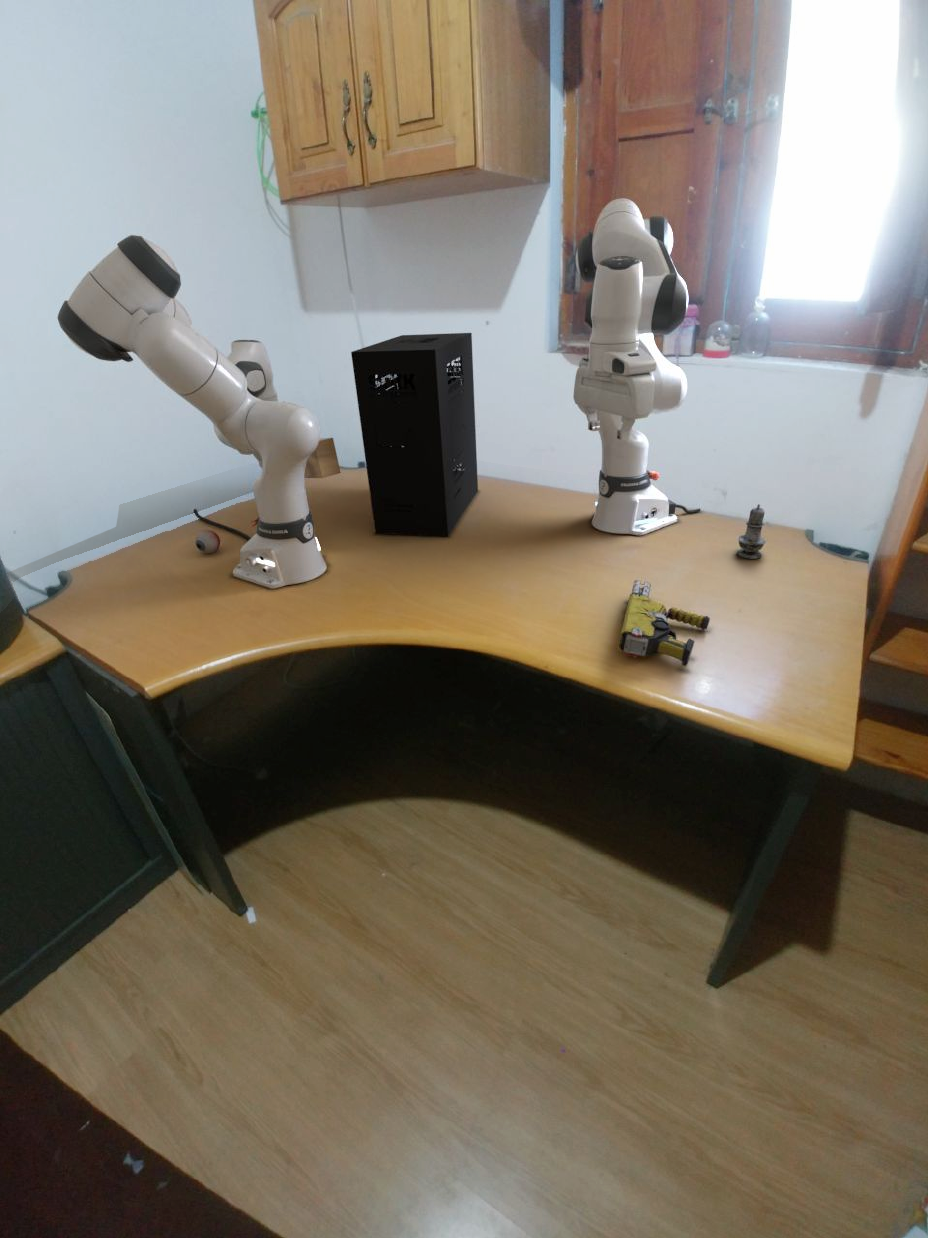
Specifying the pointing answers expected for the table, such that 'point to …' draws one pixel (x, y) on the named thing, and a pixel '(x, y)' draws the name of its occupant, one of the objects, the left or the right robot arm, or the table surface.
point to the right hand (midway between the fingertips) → (607, 434)
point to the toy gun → (655, 627)
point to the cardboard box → (418, 431)
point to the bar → (322, 460)
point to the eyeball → (207, 541)
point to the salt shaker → (752, 535)
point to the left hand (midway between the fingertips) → (273, 462)
